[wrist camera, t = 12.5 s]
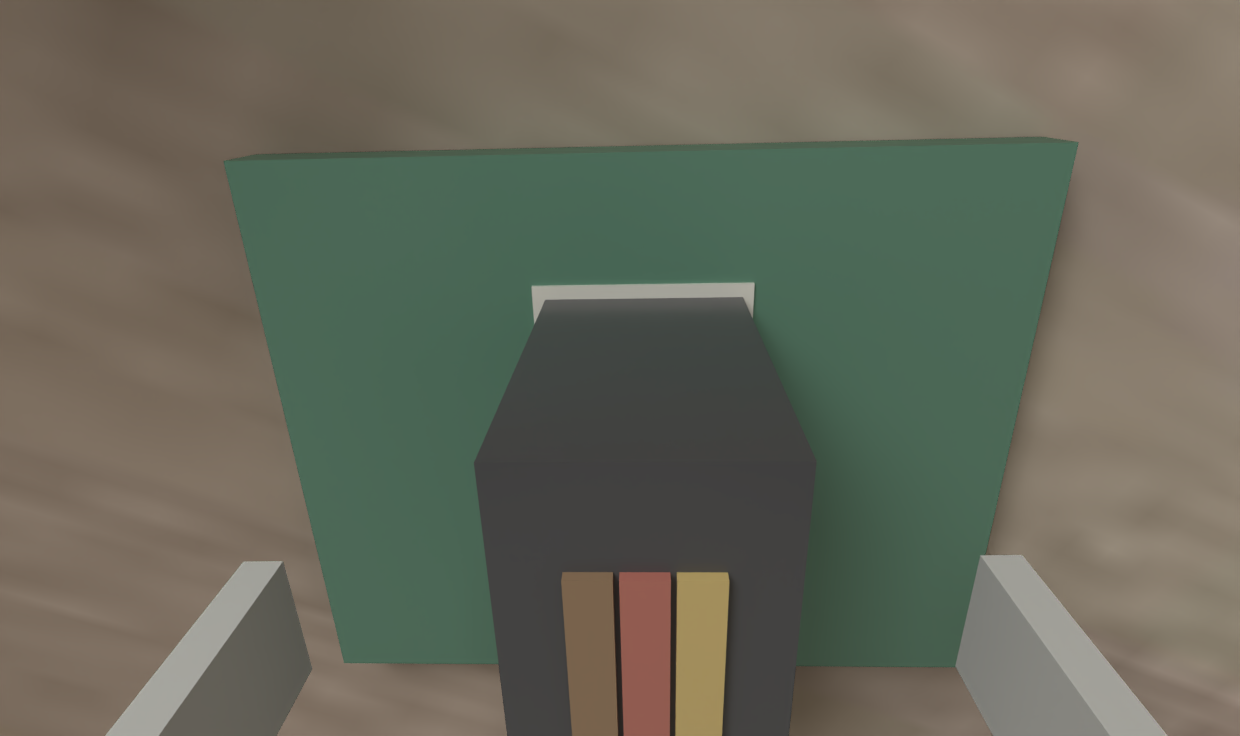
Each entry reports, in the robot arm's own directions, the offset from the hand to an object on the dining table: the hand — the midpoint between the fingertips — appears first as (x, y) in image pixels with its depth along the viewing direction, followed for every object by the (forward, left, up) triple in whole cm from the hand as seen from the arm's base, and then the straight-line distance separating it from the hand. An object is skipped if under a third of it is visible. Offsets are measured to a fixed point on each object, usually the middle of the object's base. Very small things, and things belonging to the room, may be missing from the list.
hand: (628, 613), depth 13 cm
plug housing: (0, 0, -6) cm, 6 cm away
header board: (0, 0, -8) cm, 8 cm away
